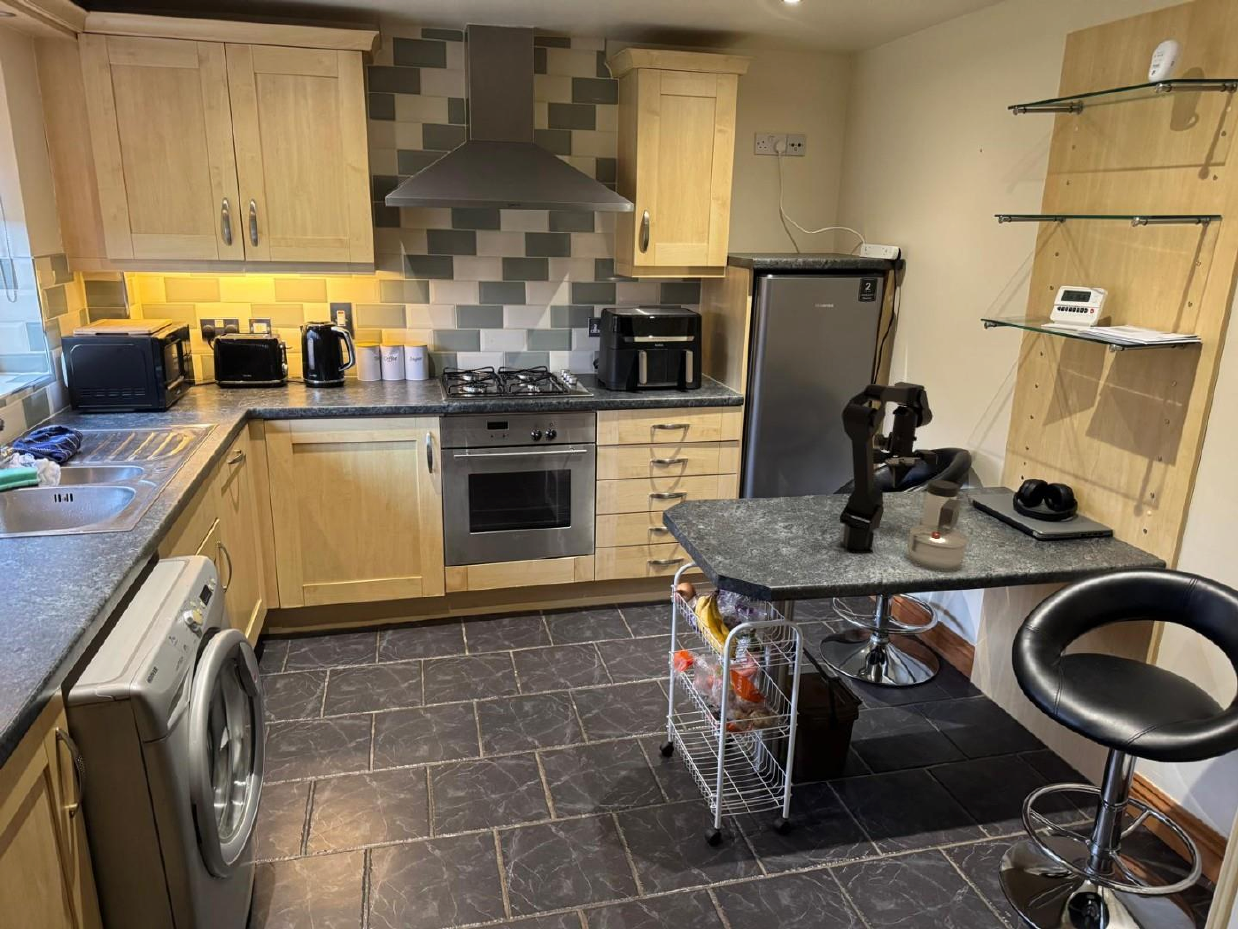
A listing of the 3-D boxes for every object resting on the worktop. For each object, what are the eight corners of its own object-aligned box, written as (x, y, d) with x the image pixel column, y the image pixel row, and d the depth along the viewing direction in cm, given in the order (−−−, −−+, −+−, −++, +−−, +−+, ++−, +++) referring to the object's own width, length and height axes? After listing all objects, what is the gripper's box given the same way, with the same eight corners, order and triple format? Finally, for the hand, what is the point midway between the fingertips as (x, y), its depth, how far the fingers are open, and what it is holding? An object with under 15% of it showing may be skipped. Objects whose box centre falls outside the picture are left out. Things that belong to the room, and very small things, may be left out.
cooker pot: (956, 576, 201) (960, 552, 199) (901, 562, 207) (905, 539, 205) (970, 552, 217) (975, 530, 215) (919, 540, 223) (922, 519, 221)
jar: (944, 519, 241) (951, 480, 238) (958, 530, 233) (965, 488, 230) (915, 519, 240) (921, 479, 237) (927, 529, 232) (934, 488, 229)
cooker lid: (961, 552, 199) (965, 527, 197) (903, 538, 205) (907, 515, 204) (978, 528, 216) (982, 505, 215) (924, 516, 223) (928, 494, 221)
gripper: (921, 424, 228) (913, 479, 233) (857, 422, 226) (849, 478, 230) (942, 434, 218) (933, 491, 222) (875, 432, 215) (867, 490, 219)
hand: (895, 487), depth 224 cm, fingers closed
